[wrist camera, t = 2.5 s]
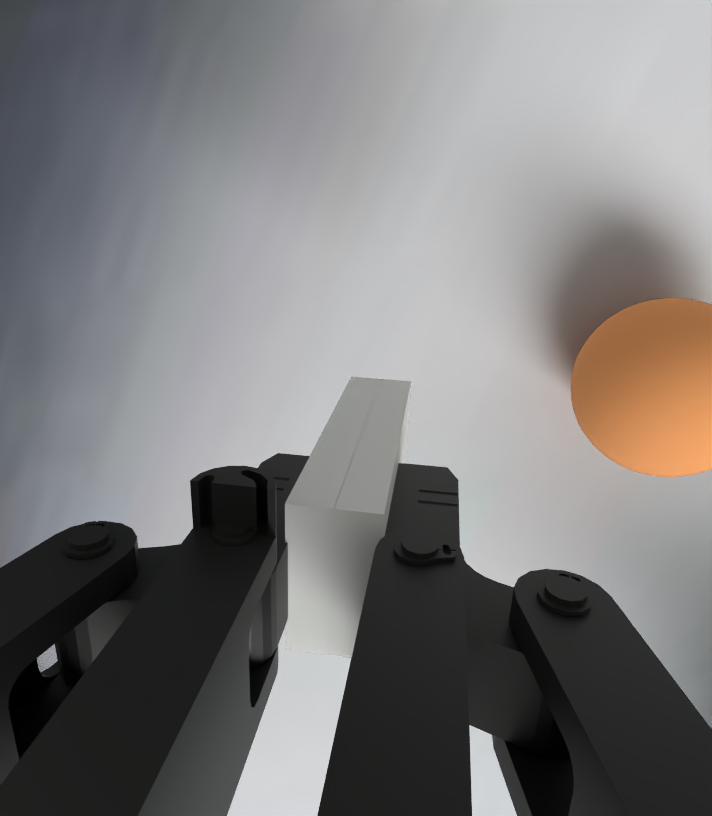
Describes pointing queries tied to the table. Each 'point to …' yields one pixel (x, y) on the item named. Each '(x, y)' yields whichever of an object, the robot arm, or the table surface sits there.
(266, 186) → the table surface
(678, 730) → the robot arm
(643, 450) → the ball
